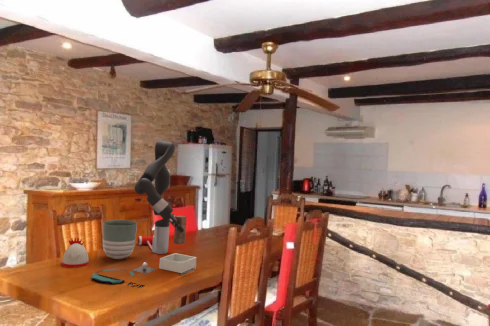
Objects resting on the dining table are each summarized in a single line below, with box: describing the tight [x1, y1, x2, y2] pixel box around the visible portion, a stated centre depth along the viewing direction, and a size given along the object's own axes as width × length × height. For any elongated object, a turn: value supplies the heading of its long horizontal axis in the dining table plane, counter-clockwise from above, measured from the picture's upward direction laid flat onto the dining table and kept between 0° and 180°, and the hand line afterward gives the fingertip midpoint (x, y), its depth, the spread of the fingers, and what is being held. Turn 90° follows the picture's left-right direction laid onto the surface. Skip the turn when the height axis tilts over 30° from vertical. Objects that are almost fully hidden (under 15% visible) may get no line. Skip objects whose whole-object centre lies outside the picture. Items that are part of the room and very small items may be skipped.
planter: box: [102, 219, 138, 260], centre depth 242 cm, size 20×20×21 cm
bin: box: [158, 252, 197, 277], centre depth 226 cm, size 15×15×7 cm
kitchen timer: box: [61, 236, 90, 268], centre depth 225 cm, size 14×14×15 cm
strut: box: [173, 215, 187, 246], centre depth 225 cm, size 4×4×15 cm
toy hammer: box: [137, 235, 154, 252], centre depth 274 cm, size 23×12×6 cm, turn 26°
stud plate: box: [131, 261, 158, 275], centre depth 218 cm, size 10×10×5 cm
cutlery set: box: [91, 268, 146, 289], centre depth 204 cm, size 20×30×2 cm, turn 71°
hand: (183, 230), depth 225 cm, fingers closed on strut, 6 cm apart
